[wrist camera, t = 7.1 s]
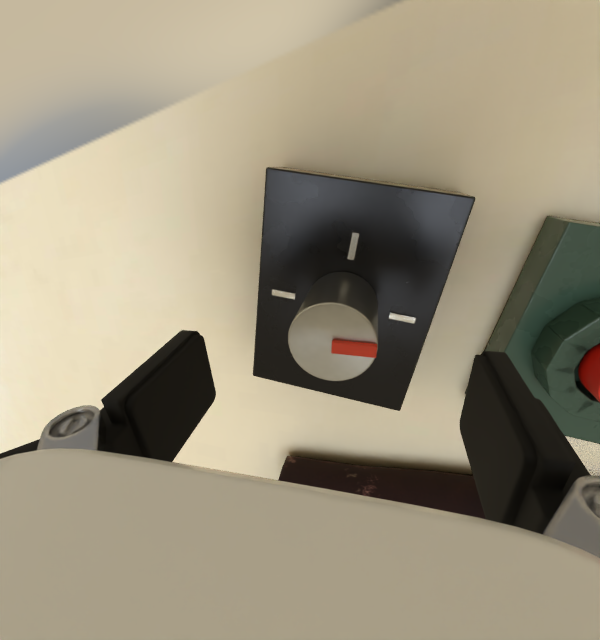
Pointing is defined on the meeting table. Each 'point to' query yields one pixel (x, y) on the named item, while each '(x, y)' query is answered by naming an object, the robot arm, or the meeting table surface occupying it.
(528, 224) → the meeting table surface
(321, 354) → the hob knob
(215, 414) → the meeting table surface
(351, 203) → the knob base
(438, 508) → the diary
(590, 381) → the button
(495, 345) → the button base
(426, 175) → the meeting table surface
